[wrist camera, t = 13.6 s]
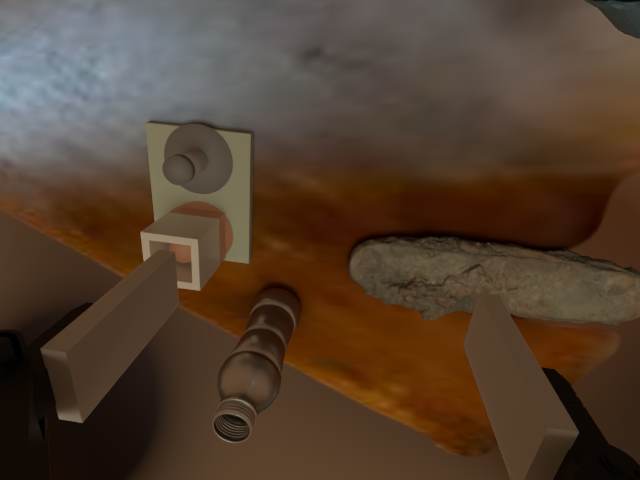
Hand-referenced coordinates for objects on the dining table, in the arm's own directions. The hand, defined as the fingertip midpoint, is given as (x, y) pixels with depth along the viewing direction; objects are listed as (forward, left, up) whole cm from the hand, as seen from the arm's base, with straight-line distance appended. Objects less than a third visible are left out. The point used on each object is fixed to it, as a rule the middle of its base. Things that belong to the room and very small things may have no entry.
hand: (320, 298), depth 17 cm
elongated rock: (+12, +19, -29) cm, 37 cm away
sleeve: (+10, -17, -27) cm, 34 cm away
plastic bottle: (+20, -7, -29) cm, 36 cm away
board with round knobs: (+6, -17, -29) cm, 34 cm away
